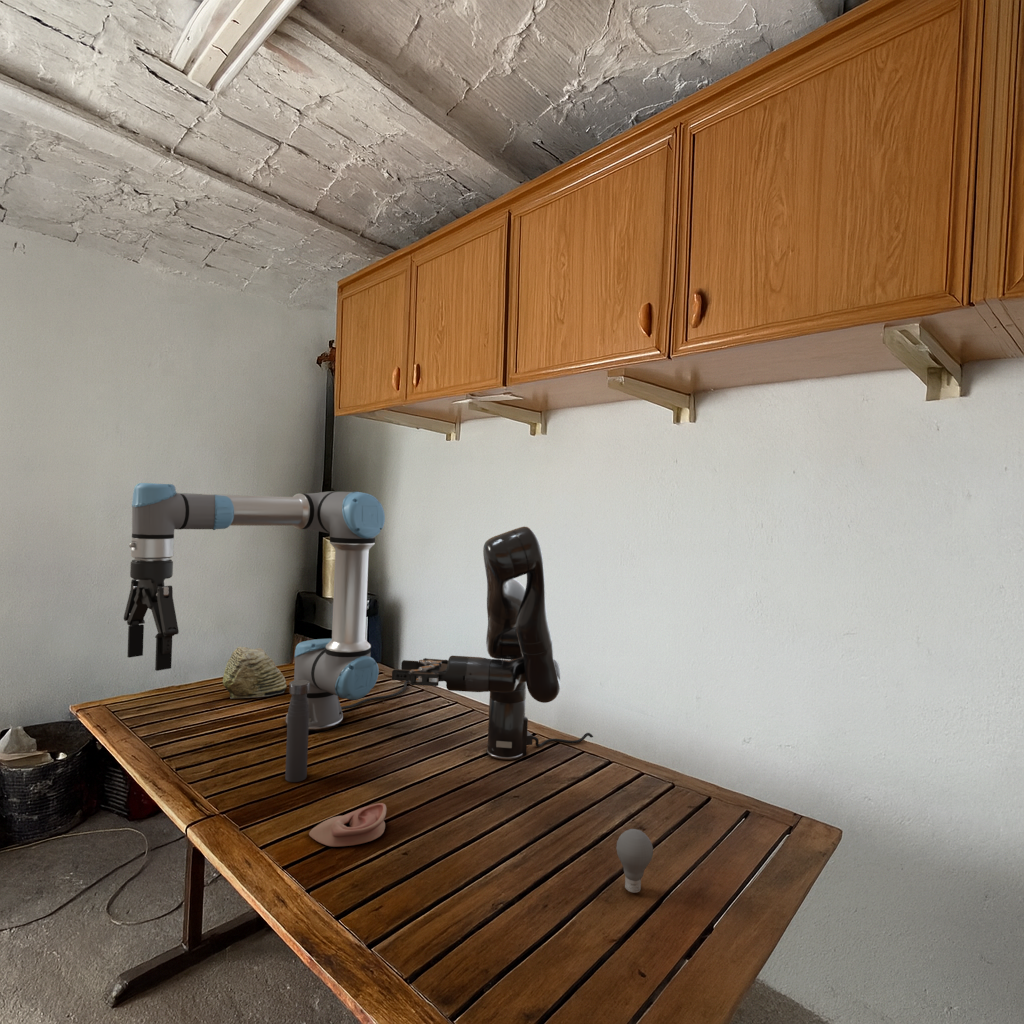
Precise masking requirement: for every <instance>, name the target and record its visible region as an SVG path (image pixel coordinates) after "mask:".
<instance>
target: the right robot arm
mask: <svg viewBox="0 0 1024 1024" xmlns="http://www.w3.org/2000/svg"><path fill="white" fill-rule="evenodd" d="M482 556H483V563H484V569H485V576H486V611H487V612H486V613H487V629H486V639H485V640H486V642H485V645H486V651H487V654H488V656H489V657H490V658H486V657H482V656H466V655H450V656H449V657H448V659H439V658H427V657H425V658H423V659H419V660H409V659H407V660H406V659H403V660H402V661H401V663H400V665H401V667H400V668H399V669H398V668H394V669H393V670H392V671H391V680H393V681H401V682H403V681H404V682H405V681H409V682H408V683H409V686H410V685H411V686H427V687H428V686H429V687H438V686H439V682H445V686H446V687H445V688H446V690H447V691H451V692H465V693H468V692H469V693H489V702H488V703H489V704H488V722H487V723H488V724H487V746H486V747H487V748H486V754H487V755H488V756H489V757H490V758H493V759H497V760H500V761H501V760H502V761H511V760H517V759H521V758H522V757H524V756H527V752H528V751H527V749H528V746H532V745H533V740H534V741H535V747H537V748H541V747H543V746H545V745H546V744H548V743H553V742H555V743H563V744H564V743H565V744H574V745H575V744H580V743H581V742H583V741H584V740H585V739H586V738H587V737H589V738H594V735H593V734H592V733H590V732H586V733H585V734H583V736H581V737H580V738H578V739H576V740H575V739H574V740H569V739H564V738H548V739H546V740H543V742H541V743H539V742H540V741H539V740H540V739H539V738H538V737H537V736H535V735H533V734H532V733H531V732H530V731H528V727H529V717H527V716H526V701H527V691H528V693H529V695H530V696H531V698H533V700H535V701H537V702H539V703H542V704H547V703H550V702H552V701H554V700H555V699H556V698H557V697H558V695H559V694H560V690H561V667H560V664H559V662H558V661H557V659H555V658H554V642H553V638H552V633H551V629H550V625H549V619H548V612H547V601H546V600H547V599H546V581H545V568H544V567H545V566H544V558H543V557H544V556H543V552H542V547H541V544H540V541H539V539H538V537H537V535H536V534H535V532H534V531H533V530H532V529H531V528H530V527H528V526H520V527H517V528H514V529H511V530H508V531H505V532H503V533H500V534H497V535H495V536H492V537H490V538H488V539H487V540H486V541H485V542H484V544H483V548H482ZM524 575H526V584H525V585H526V586H524V585H523V584H522V583H521V581H518V580H517V579H516V578H519V577H522V576H524ZM416 676H419V677H418V678H416Z"/></svg>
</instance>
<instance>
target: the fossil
mask: <svg viewBox="0 0 1024 1024" xmlns="http://www.w3.org/2000/svg"><path fill="white" fill-rule="evenodd" d="M222 676H223V677H222V685H223V687H224V688H225V690H226V691H228V693H229V698H230V699H250V698H264V697H271V696H275V695H281V694H284V693H285V691H286V689H287V687H288V686H287V680H286V678H285V676H284V674H283V673H282V672H281V669H279V668H278V667H277V665H276V663H275V662H274V660H273V659H272V658H271V657H270V656H269V655H268V654H267V653H266V652H265V650H264V649H263V648H260V647H258V648H251V647H247V646H246V647H245V646H238V647H237V648H236V649H235V650H233V651H232V653H231V656H230V657H229V659H228V660H227V663H226V666H225V668H224V671H223V675H222Z"/></svg>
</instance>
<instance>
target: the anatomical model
mask: <svg viewBox="0 0 1024 1024" xmlns="http://www.w3.org/2000/svg"><path fill="white" fill-rule="evenodd" d="M386 816H387V805H386V804H385V803H383V802H378V803H373V804H370V805H368V806H364V807H360V808H358V809H355V810H353V811H351V812H348V813H346V814H344V815H343V814H342V815H337V816H333V817H331V818H328V819H326V820H323V821H322V822H320V823H318V824H317V825H315V826H314V827H313V828H311V830H309V832H308V835H309V837H310V838H311V839H313V840H315V841H316V842H318V843H319V844H321V845H325V846H327V847H333V848H335V847H348V846H349V847H350V846H357V845H361V844H365V843H368V842H372V841H374V840H376V839H378V838H380V837H381V836H382V835H383V834H384V832H385V829H386V822H385V819H386Z"/></svg>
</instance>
